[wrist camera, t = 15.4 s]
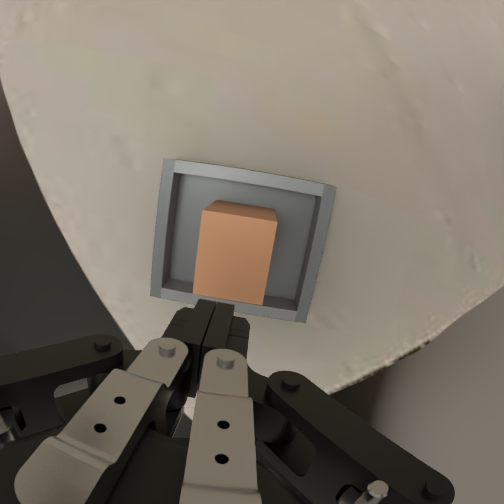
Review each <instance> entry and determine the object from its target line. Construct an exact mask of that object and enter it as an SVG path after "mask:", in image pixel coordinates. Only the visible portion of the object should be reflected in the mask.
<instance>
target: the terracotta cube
mask: <svg viewBox="0 0 504 504" xmlns="http://www.w3.org/2000/svg"><path fill="white" fill-rule="evenodd" d="M276 228H277V218H276V214H275V211H274V209H273V208H267V207H261V206H255V205H249V204H242V203H236V202H230V201H223V200H216V201H214V202H213V203H212V204H210V205H209V206H207V207H206V208H204V209H203V210H202V217H201V224H200V232H199V240H198V249H197V257H196V266H195V275H194V285H193V294H197V295H203V296H209V297H214V298H220V299H226V300H232V301H238V302H244V303H250V304H257V305H262V304H263V298H264V293H265V288H266V283H267V277H268V272H269V266H270V261H271V256H272V250H273V245H274V239H275V233H276Z"/></svg>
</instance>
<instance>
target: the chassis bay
mask: <svg viewBox="0 0 504 504" xmlns="http://www.w3.org/2000/svg"><path fill="white" fill-rule="evenodd" d="M335 191H336V187H335V186H331V185H327V184H322V183H318V182H313V181H308V180H303V179H297V178H292V177H287V176H281V175H276V174H270V173H264V172H259V171H253V170H246V169H240V168H234V167H227V166H220V165H214V164H206V163H199V162H191V161H184V160H175V159H164V161H163V168H162V175H161V183H160V190H159V199H158V207H157V216H156V226H155V236H154V248H153V260H152V274H151V291H150V296H154V297H158V298H163V299H168V300H173V301H178V302H183V303H188V304H194V305H196V304H197V301H198V299H199V298H200V299H205V300H211V301H216V305H217V302H222V303H228V304H234V305H235V308H234V312H238V313H244V314H250V315H256V316H262V317H269V318H275V319H282V320H289V321H296V322H303V323H306V319H307V315H308V311H309V307H310V304H311V300H312V296H313V291H314V287H315V283H316V279H317V275H318V271H319V266H320V262H321V258H322V253H323V249H324V244H325V240H326V235H327V231H328V226H329V221H330V216H331V211H332V206H333V201H334V196H335ZM216 200H223V201H230V202H236V203H242V204H249V205H255V206H261V207H267V208H273V209H274V211H275V214H276V218H277V228H276V233H275V239H274V245H273V250H272V256H271V261H270V266H269V272H268V277H267V283H266V288H265V293H264V298H263V304H262V305H257V304H250V303H244V302H238V301H232V300H226V299H220V298H214V297H209V296H203V295H197V294H193V285H194V275H195V266H196V257H197V249H198V240H199V232H200V224H201V217H202V210H203V209H204V208H206V207H207V206H209V205H210V204H212V203H213V202H214V201H216Z"/></svg>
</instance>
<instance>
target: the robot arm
mask: <svg viewBox="0 0 504 504" xmlns="http://www.w3.org/2000/svg"><path fill="white" fill-rule="evenodd" d="M234 308H235V305H234V304H228V303H222V302H217V305H216V301H211V300H205V299H200V298H199V299H198V301H197V304H196V306H195V308H194V309H192V308H187V307H184V308H182V309H180V310H179V311H177V312H176V313H175V315H174V317H173V319H172V320H171V322H170V324H169V325H168V327H167V329H166V330H165V332H164V334H163V336H162V337H161V338H157V339H154V340H151V341H150V342H149V343H148V344H147V345H146V346H145V348H144V349H143V350H123V344H122V342H121V341H120V340H119V339H118V338H117V337H115V336H112V335H108V334H95V335H91V336H87V337H83V338H79V339H75V340H70V341H66V342H62V343H58V344H54V345H49V346H45V347H40V348H36V349H31V350H27V351H22V352H18V353H13V354H8V355H4V356H0V504H305V503H304V502H303V501H302V500H301V499H300V498H299V497H298V496H297V494H295V492H294V491H293V490H292V489H291V488H290V487H289V486H288V485H287V484H286V483H285V482H284V481H283V480H282V479H281V478H280V477H279V476H278V475H277V474H276V473H275V472H274V471H273V470H272V469H271V468H269V467H268V466H266V465H265V464H263V463H261V462H260V461H258V460H256V454H255V446H256V447H257V448H258V449H259V450H260V451H261V452H262V454H263V455H264V456H265V457H266V458H267V459H268V460H269V461H270V462H271V463H272V464H273V465H274V466H275V467H276V468H277V469H278V470H279V471H280V472H281V473H282V474H283V475H284V476H285V477H286V478H287V479H288V480H289V481H290V482H291V483H292V484H293V485H294V486H295V487H296V488H297V489H298V490H299V491H301V492H302V493H303V494H304V495H305V496H306V497H307V498H308V499H309V500H310V501H311V502H312V503H314V504H451V503H452V502H453V500H454V496H455V491H454V487H453V485H452V483H451V482H450V481H449V479H447V478H446V477H445V476H443V475H442V474H440V473H439V472H437V471H436V470H434V469H432V468H431V467H430V466H428V465H426V464H425V463H423V462H422V461H420V460H419V459H417V458H416V457H414V456H413V455H412V454H410V453H408V452H407V451H405V450H404V449H403V448H401V447H400V446H398V445H397V444H395V443H394V442H392V441H391V440H390V439H388V438H387V437H385V436H384V435H382V434H381V433H379V432H378V431H377V430H375V429H374V428H373V427H371V426H370V425H368V424H367V423H365V422H364V421H363V420H362V419H360V418H359V417H357V416H356V415H355V414H353V413H352V412H351V411H349V410H348V409H346V408H345V407H344V406H343V405H341V404H340V403H339V402H337V401H336V400H334V399H333V398H332V397H330V396H329V395H328V394H327V393H325V392H324V391H323V390H321V389H320V388H319V387H317V386H316V385H315V384H314V383H312V382H311V381H310V380H308V379H307V378H306V377H304V376H303V375H301V374H299V373H296V372H292V371H278V372H275V373H273V374H272V375H271V376H270V377H269V378H268V377H265V376H262V375H260V374H258V373H256V372H254V371H253V370H252V369H251V368H250V367H249V366H248V364H247V360H246V358H247V349H248V339H249V330H250V324H249V323H248V321H247V320H246V318H241V317H236V316H233V314H234ZM86 377H87V382H88V388H87V389H84V390H80V391H77V392H74V393H70V394H67V395H63V396H61V397H57V398H54V391H55V389H56V388H57V387H58V386H60V385H62V384H65V383H69V382H73V381H76V380H80V379H83V378H86ZM197 390H198V392H197ZM196 393H197V398H196V404H195V410H194V416H193V422H192V428H191V435H190V438H172V437H173V435H174V432H175V430H176V428H177V426H178V423H179V421H180V418H181V417H182V414H183V412H184V404H185V403H186V400H187V397H193V398H195V396H196ZM297 429H298V430H300V431H301V432H302V433H303V434H304V435H305V436H306V437H307V438H309V439H310V440H311V441H312V442H313V444H314V445H315V446H313V445H312V444H311V443H310V442H309V441H308V440H307V439H305V438H304V437H303V436H302V435H301V434H300V433H299V432H297Z"/></svg>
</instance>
